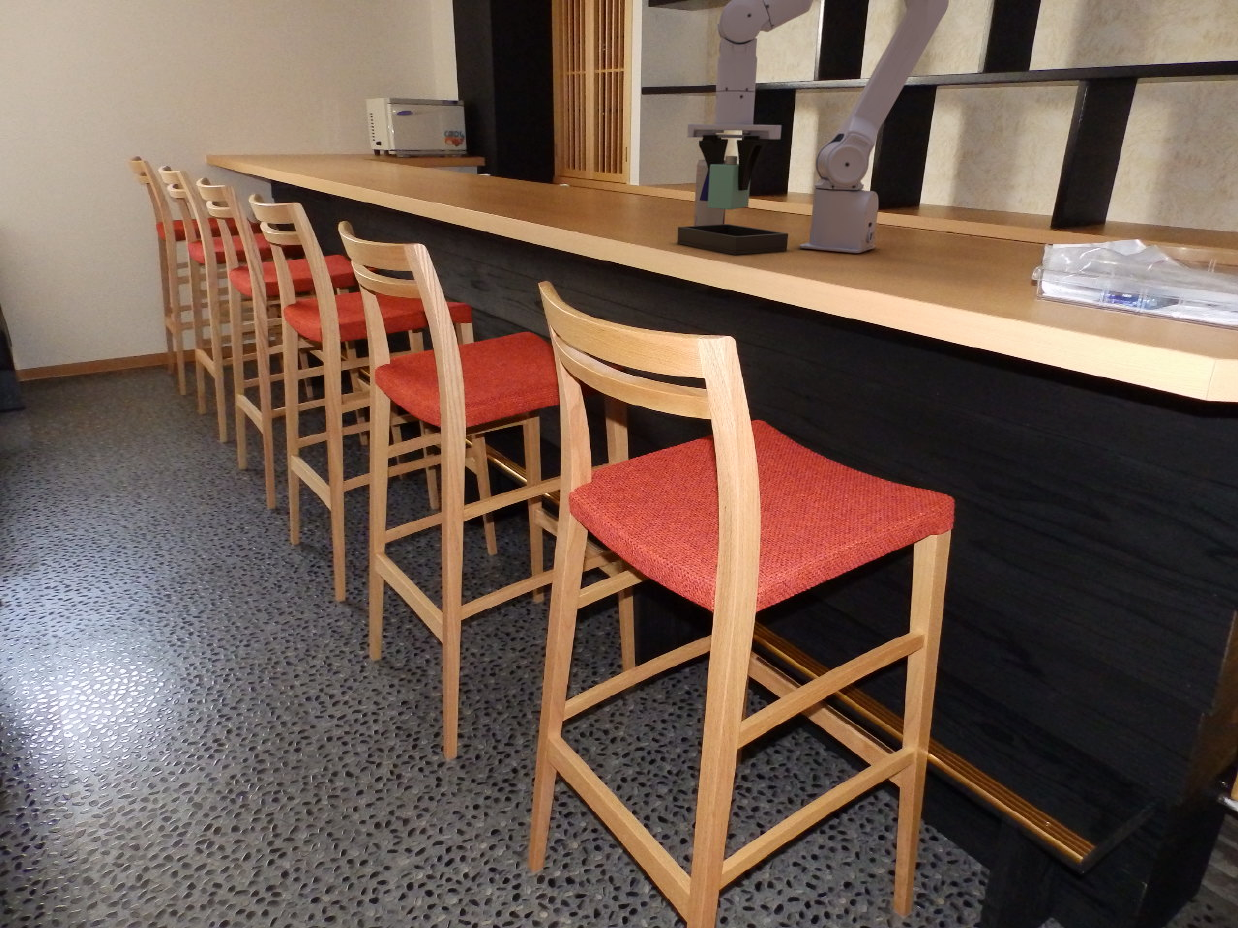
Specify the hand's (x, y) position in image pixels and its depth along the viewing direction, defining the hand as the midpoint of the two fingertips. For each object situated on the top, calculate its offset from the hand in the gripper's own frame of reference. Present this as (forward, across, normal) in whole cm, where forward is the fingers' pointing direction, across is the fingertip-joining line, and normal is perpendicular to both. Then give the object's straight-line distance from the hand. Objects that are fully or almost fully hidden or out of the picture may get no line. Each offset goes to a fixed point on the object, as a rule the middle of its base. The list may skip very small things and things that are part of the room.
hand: (729, 189), depth 128 cm
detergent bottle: (+3, 0, 0) cm, 3 cm away
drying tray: (+8, -1, +1) cm, 9 cm away
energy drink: (+9, +11, -14) cm, 20 cm away
